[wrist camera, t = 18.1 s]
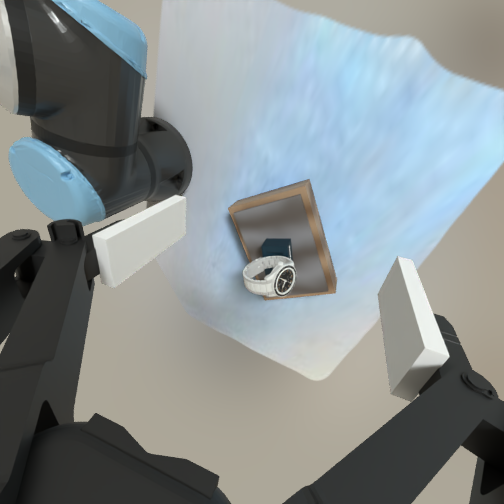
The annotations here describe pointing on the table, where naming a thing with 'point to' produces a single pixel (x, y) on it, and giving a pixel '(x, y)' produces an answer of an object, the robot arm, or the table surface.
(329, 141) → the table surface
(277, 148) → the table surface
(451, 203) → the table surface
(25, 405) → the robot arm
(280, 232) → the riser
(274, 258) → the watch
